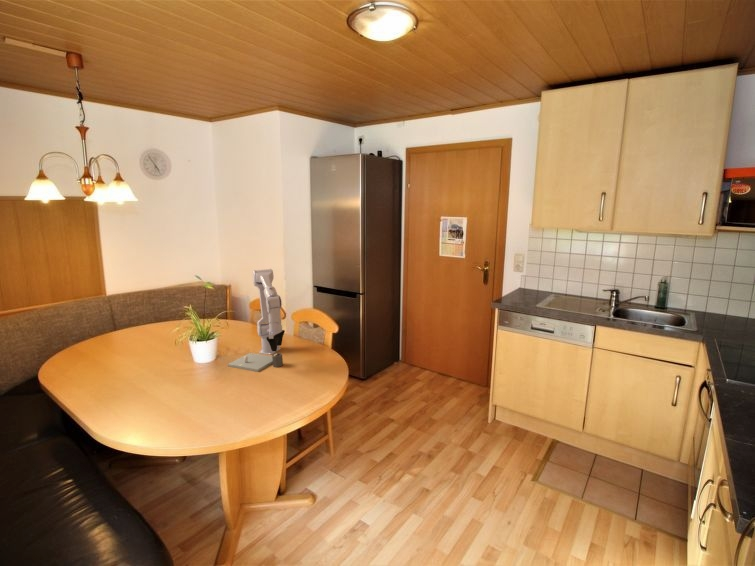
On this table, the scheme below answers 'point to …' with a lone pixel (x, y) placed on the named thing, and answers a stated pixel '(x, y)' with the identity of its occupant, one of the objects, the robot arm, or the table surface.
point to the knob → (277, 359)
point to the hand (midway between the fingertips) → (276, 348)
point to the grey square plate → (252, 362)
